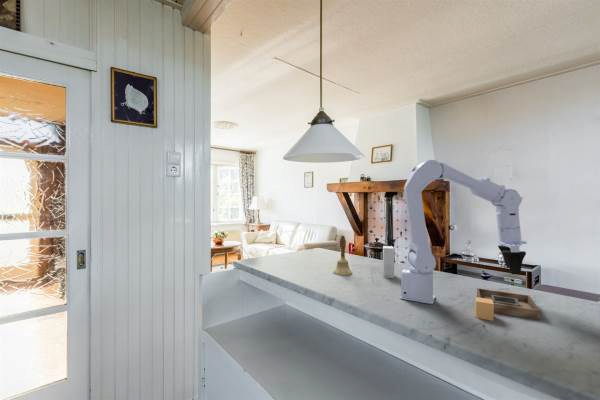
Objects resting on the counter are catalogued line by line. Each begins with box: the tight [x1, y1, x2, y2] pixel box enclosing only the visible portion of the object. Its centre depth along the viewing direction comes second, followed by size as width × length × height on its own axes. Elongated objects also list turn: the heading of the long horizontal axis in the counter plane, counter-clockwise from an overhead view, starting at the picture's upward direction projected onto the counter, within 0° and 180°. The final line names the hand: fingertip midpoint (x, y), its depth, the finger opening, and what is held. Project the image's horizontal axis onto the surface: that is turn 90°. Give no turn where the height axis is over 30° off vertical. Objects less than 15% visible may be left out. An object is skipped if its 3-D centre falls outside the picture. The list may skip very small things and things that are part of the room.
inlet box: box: [476, 287, 541, 321], centre depth 88 cm, size 14×14×2 cm
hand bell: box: [332, 235, 353, 276], centre depth 125 cm, size 8×8×16 cm
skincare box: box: [381, 245, 395, 279], centre depth 120 cm, size 6×4×12 cm
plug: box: [474, 296, 495, 322], centre depth 80 cm, size 4×4×4 cm
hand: (513, 270), depth 91 cm, fingers open, 7 cm apart
